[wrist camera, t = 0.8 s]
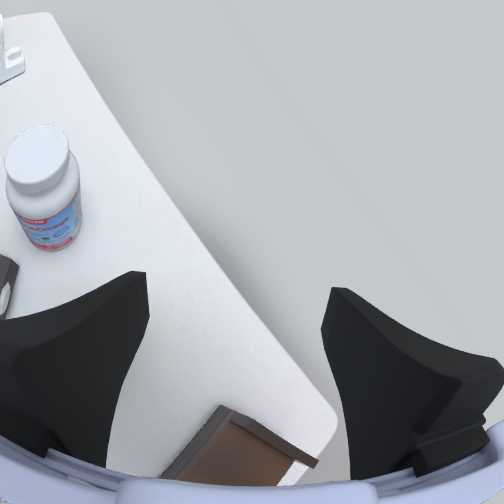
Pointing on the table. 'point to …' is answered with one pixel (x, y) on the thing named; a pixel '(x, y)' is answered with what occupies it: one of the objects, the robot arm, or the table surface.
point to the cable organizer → (9, 59)
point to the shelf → (236, 454)
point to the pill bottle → (44, 186)
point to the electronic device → (6, 281)
